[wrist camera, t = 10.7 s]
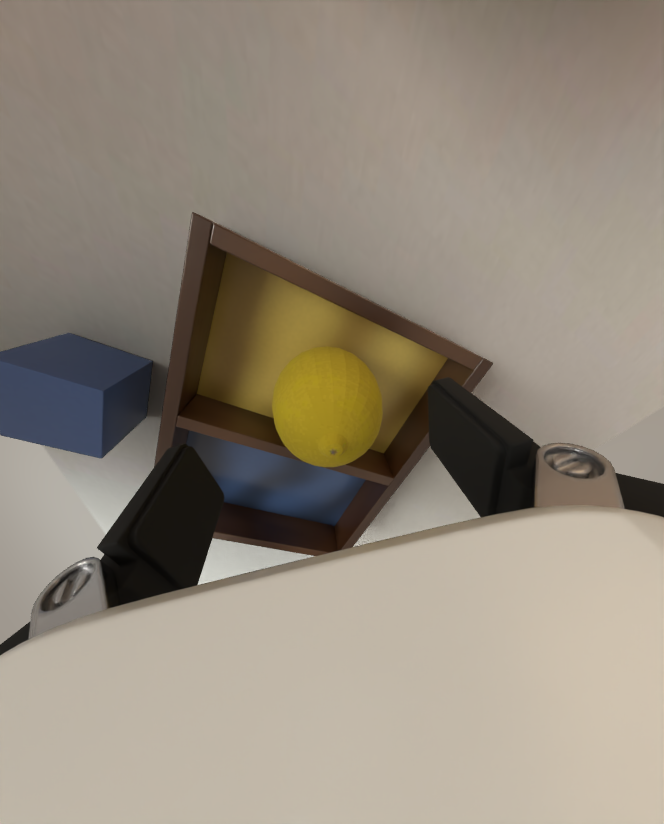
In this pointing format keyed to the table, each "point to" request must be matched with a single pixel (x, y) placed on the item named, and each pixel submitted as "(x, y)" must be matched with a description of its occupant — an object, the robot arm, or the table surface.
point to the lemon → (327, 407)
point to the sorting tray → (255, 380)
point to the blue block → (72, 394)
